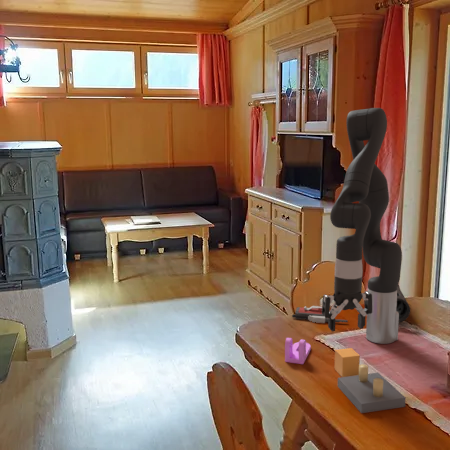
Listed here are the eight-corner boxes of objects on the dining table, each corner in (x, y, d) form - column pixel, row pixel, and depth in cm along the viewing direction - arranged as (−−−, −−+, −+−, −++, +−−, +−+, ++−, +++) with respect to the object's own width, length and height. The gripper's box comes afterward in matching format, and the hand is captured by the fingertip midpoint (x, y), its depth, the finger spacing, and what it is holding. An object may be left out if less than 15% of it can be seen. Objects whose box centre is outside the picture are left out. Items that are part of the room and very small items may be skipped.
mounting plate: (377, 380, 147) (378, 359, 146) (405, 406, 134) (406, 382, 132) (337, 386, 145) (338, 364, 143) (361, 413, 131) (362, 389, 130)
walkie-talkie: (291, 322, 192) (347, 326, 187) (291, 310, 192) (347, 314, 186) (294, 313, 201) (348, 317, 196) (294, 302, 200) (348, 306, 195)
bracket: (303, 364, 158) (303, 342, 157) (285, 362, 160) (285, 340, 159) (312, 347, 170) (312, 326, 169) (295, 345, 172) (295, 324, 171)
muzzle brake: (382, 325, 187) (383, 297, 185) (372, 299, 214) (373, 274, 212) (410, 326, 185) (411, 298, 183) (397, 299, 212) (398, 274, 210)
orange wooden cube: (351, 367, 156) (351, 347, 154) (359, 375, 151) (359, 355, 149) (334, 369, 155) (334, 349, 153) (342, 377, 150) (342, 357, 148)
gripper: (365, 268, 152) (363, 322, 155) (319, 272, 149) (317, 326, 152) (378, 276, 145) (375, 332, 148) (329, 279, 142) (328, 336, 145)
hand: (346, 329), depth 150 cm, fingers open, 8 cm apart
